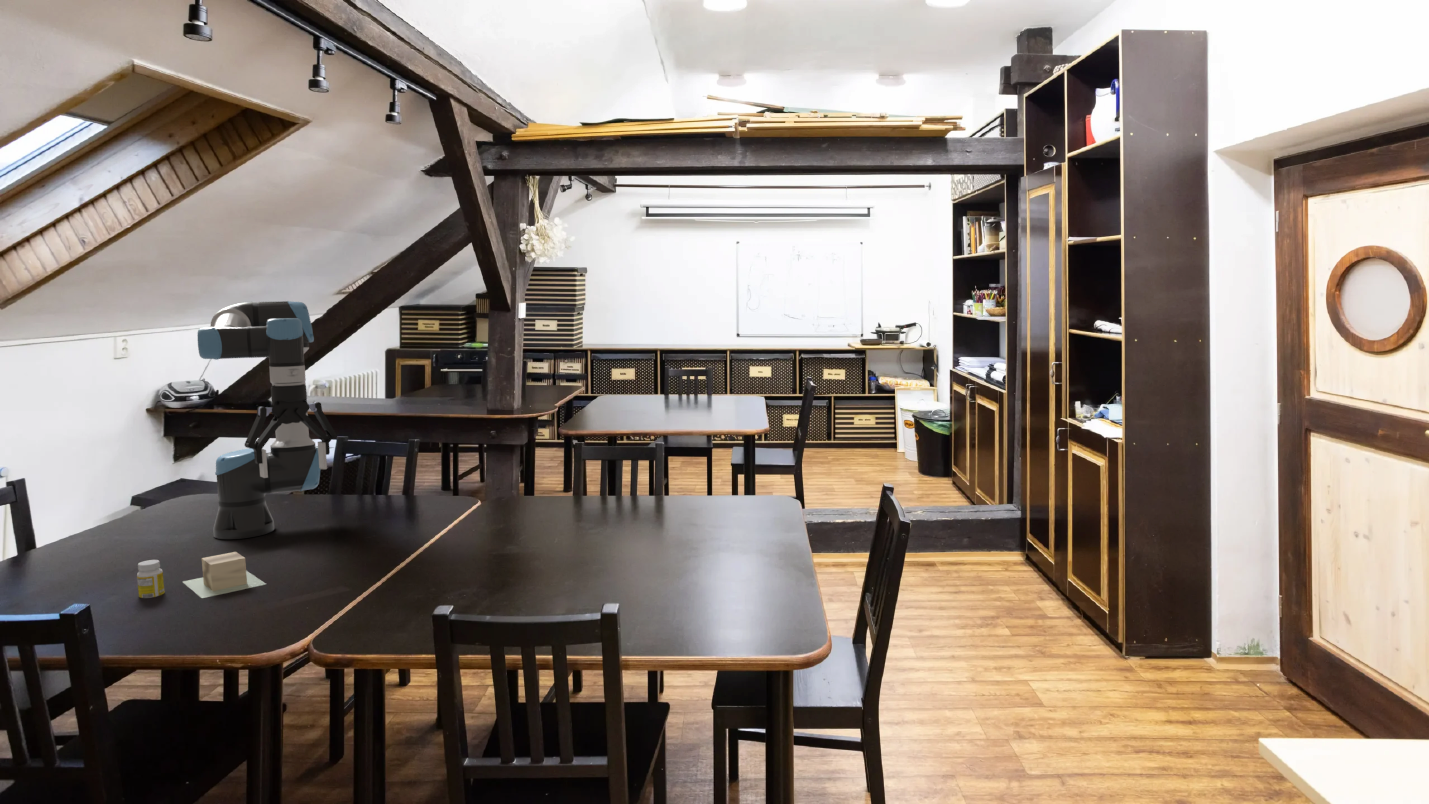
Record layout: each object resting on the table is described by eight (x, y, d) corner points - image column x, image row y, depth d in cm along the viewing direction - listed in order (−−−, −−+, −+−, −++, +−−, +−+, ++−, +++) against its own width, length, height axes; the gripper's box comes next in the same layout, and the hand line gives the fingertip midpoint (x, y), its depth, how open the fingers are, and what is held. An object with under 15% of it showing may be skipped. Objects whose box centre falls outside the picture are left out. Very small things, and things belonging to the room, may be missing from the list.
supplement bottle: (159, 594, 194) (156, 557, 193) (169, 598, 191) (165, 561, 190) (135, 600, 190) (131, 563, 189) (145, 604, 187) (141, 566, 186)
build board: (182, 586, 199) (182, 581, 199) (244, 573, 208) (244, 568, 208) (202, 603, 187) (201, 598, 187) (266, 589, 197) (266, 584, 196)
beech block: (203, 583, 197) (201, 558, 196) (237, 576, 202) (235, 551, 201) (212, 591, 192) (210, 564, 191) (247, 583, 197) (245, 557, 196)
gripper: (236, 389, 193) (243, 483, 196) (347, 380, 211) (352, 467, 214) (225, 387, 198) (231, 478, 201) (334, 379, 216) (339, 463, 219)
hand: (294, 472), depth 207 cm, fingers open, 13 cm apart
